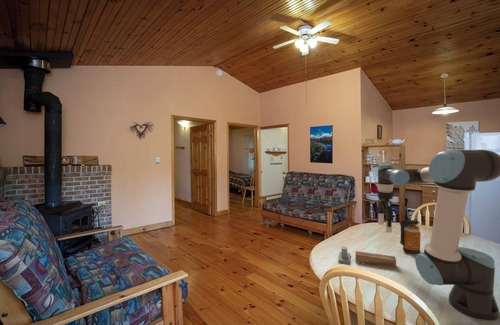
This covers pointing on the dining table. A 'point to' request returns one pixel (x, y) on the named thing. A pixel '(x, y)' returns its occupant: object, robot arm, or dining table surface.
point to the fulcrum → (344, 256)
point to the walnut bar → (376, 259)
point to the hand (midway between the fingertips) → (384, 228)
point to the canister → (410, 236)
